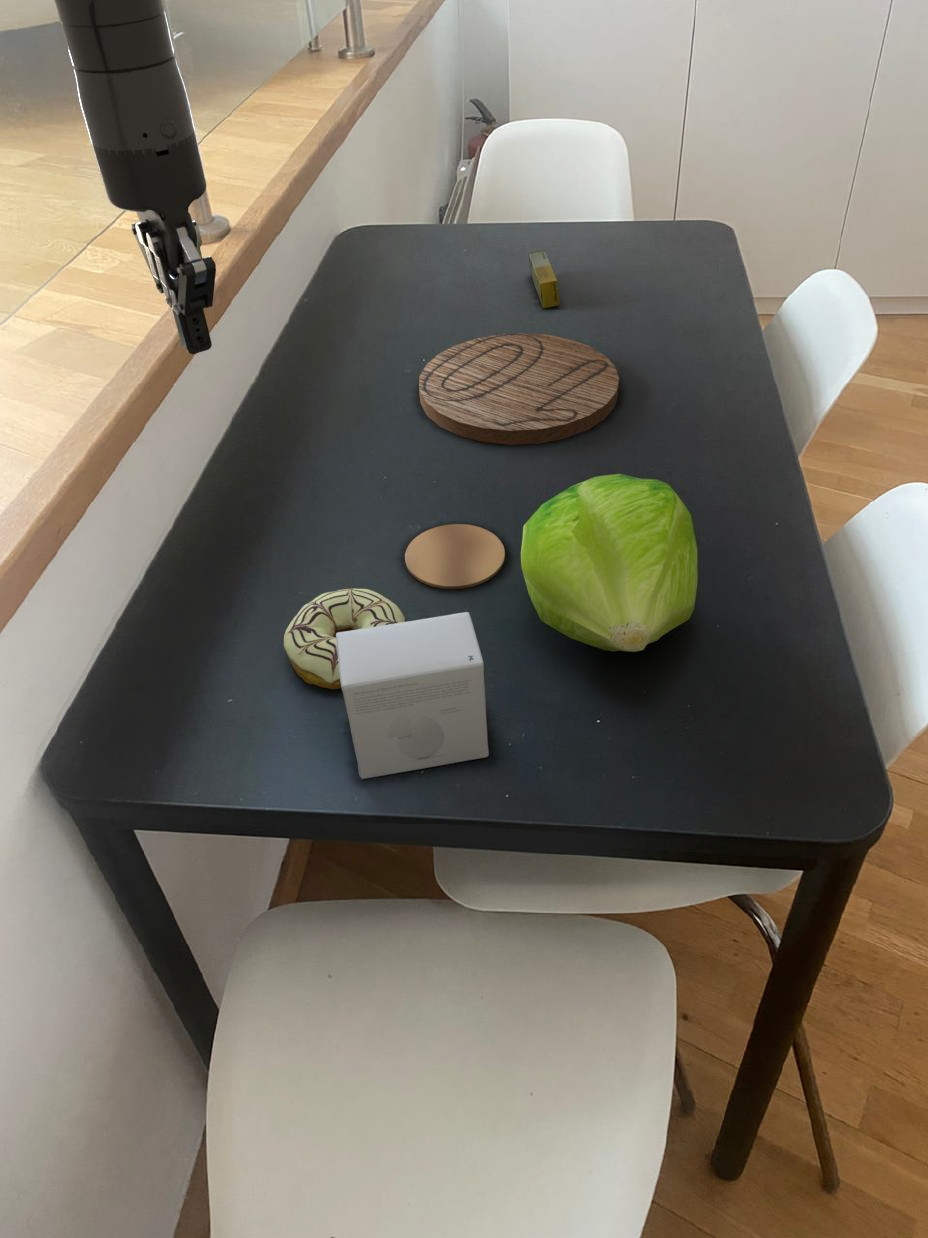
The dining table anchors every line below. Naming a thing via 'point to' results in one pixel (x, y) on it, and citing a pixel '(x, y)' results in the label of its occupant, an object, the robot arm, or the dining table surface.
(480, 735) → the cosmetics box
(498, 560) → the cork coaster
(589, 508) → the lettuce
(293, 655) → the decorated donut
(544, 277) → the medication box
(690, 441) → the dining table surface
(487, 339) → the trivet
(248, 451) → the dining table surface
